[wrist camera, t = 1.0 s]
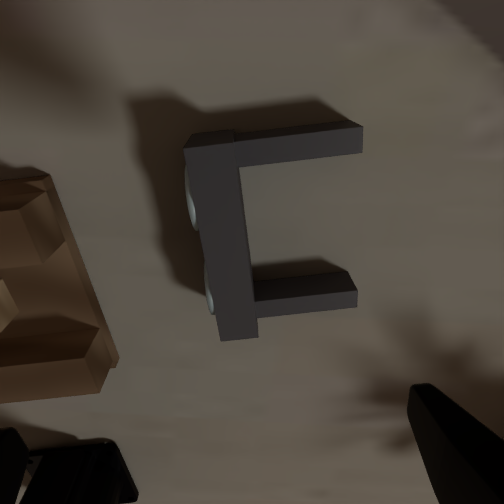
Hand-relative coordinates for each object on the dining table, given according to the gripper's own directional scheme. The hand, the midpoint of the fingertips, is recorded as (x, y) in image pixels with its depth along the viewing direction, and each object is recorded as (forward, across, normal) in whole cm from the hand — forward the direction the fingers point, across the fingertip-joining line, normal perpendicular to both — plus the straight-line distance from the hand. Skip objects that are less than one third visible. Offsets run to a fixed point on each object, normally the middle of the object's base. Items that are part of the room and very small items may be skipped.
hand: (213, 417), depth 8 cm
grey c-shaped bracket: (+11, -2, 0) cm, 11 cm away
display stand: (+11, +11, +2) cm, 15 cm away
